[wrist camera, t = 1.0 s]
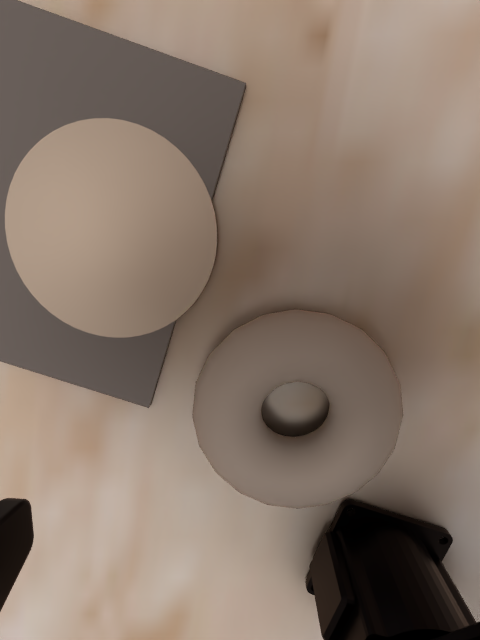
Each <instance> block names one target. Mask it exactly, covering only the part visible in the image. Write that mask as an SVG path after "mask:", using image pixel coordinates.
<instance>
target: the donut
mask: <svg viewBox="0 0 480 640" xmlns="http://www.w3.org/2000/svg"><path fill="white" fill-rule="evenodd" d="M297 381H298V382H305V383H310V384H312V385H314V386H317V387H319V388H320V389H321V390H322V391H323V392H325V394H326V396H327V398H328V400H329V405H330V407H329V412H328V416H327V418H326V420H325V421H324V423H323V424H322V425H321V426H320V427H319V428H318V429H317V430H315V431H313V432H311V433H309V434H307V435H303V436H297V437H289V436H281V435H279V434H277V433H275V432H273V431H272V430H271V429H270V428H269V427H268V426H266V424H265V422H264V421H263V419H262V414H261V409H262V404H263V402H264V400H265V398H266V396H267V395H268V394H270V393H271V392H272V391H273V390H274V389H275V388H277V387H279V386H281V385H283V384H285V383H291V382H297ZM402 418H403V408H402V397H401V387H400V383H399V381H398V379H397V377H396V375H395V373H394V370H393V368H392V366H391V364H390V362H389V360H388V358H387V356H386V354H385V352H384V351H383V350H382V349H381V348H380V347H379V346H378V345H377V344H376V343H375V342H374V341H373V340H372V339H371V338H370V337H369V336H368V335H367V334H366V333H365V332H364V331H363V330H362V329H360V328H358V327H356V326H354V325H352V324H350V323H348V322H346V321H344V320H342V319H340V318H337V317H335V316H333V315H331V314H328V313H320V312H313V311H305V310H298V309H293V310H287V311H282V312H276V313H270V314H265V315H261V316H259V317H257V318H255V319H254V320H252V321H250V322H248V323H246V324H244V325H242V326H240V327H238V328H236V329H234V330H233V331H232V332H231V333H230V334H229V335H228V336H227V337H226V338H225V339H224V340H223V341H222V342H221V343H220V344H219V345H218V346H217V347H216V348H215V349H214V350H213V351H212V352H211V353H210V354H209V356H208V358H207V360H206V363H205V365H204V367H203V369H202V371H201V373H200V375H199V377H198V379H197V381H196V386H195V395H194V404H193V421H194V425H195V429H196V434H197V438H198V442H199V446H200V448H201V449H202V451H203V453H204V454H205V456H206V457H207V459H208V460H209V462H210V464H211V465H212V467H213V468H214V470H215V471H216V473H217V474H218V475H219V476H221V477H222V478H223V479H224V480H225V481H227V482H228V483H229V484H230V485H231V486H232V487H234V488H235V489H236V490H237V491H238V492H240V493H241V494H244V495H246V496H248V497H251V498H253V499H255V500H258V501H260V502H262V503H265V504H267V505H273V506H281V507H289V508H296V509H298V508H306V507H313V506H320V505H327V504H330V503H332V502H334V501H337V500H339V499H341V498H344V497H346V496H348V495H351V494H353V493H355V492H356V491H358V490H359V489H360V488H361V487H362V486H364V485H365V484H366V483H367V482H369V481H370V480H371V479H372V478H373V477H375V476H376V475H377V474H378V473H379V472H380V470H381V469H382V467H383V466H384V464H385V463H386V461H387V459H388V458H389V456H390V455H391V453H392V452H393V450H394V449H395V445H396V441H397V437H398V433H399V430H400V426H401V422H402Z"/></svg>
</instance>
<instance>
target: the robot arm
mask: <svg viewBox="0 0 480 640" xmlns="http://www.w3.org/2000/svg"><path fill="white" fill-rule="evenodd" d="M350 508H353V510H351V511H347V510H348V509H350ZM442 537H443V538H442ZM33 538H34V533H33V522H32V512H31V505H30V502H29V501H28V500H26V499H16V498H6V499H3V500H1V501H0V611H1V609H2V607H3V605H4V603H5V601H6V599H7V597H8V595H9V593H10V591H11V589H12V587H13V585H14V583H15V581H16V579H17V577H18V575H19V573H20V571H21V569H22V567H23V565H24V563H25V560H26V558H27V556H28V554H29V552H30V550H31V547H32V544H33ZM440 538H441V539H440ZM452 541H453V539H452V537H451V535H450V534H449V532H448V531H447V530H446V529H445V528H442V527H439V526H435V525H432V524H429V523H426V522H423V521H419V520H416V519H413V518H410V517H406V516H403V515H400V514H397V513H394V512H390V511H387V510H384V509H381V508H377V507H374V506H371V505H368V504H365V503H361V502H358V501H355V500H350V499H349V500H345V501H344V502H342V504H341V506H340V508H339V510H338V512H337V514H336V516H335V518H334V521H333V523H332V525H331V527H330V529H329V530H328V531H327V532H326V533H325V534H324V536H323V538H322V540H321V542H320V544H319V546H318V549H317V551H316V553H315V555H314V557H313V559H312V561H311V564H310V572H309V574H308V576H307V578H306V588H307V591H308V592H309V593H310V594H312V595H315V600H316V606H317V611H318V617H319V623H320V628H321V634H322V637H323V639H324V640H480V622H477V623H476V621H475V619H474V617H473V616H472V614H471V612H470V610H469V609H468V607H467V605H466V604H465V602H464V600H463V598H462V597H461V595H460V593H459V591H458V590H457V588H456V586H455V585H454V583H453V581H452V579H451V578H450V576H449V574H448V572H447V571H446V569H445V567H444V566H443V564H442V560H443V558H444V556H445V554H446V553H447V551H448V549H449V547H450V546H451V544H452Z"/></svg>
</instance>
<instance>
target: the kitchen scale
mask: <svg viewBox="0 0 480 640" xmlns="http://www.w3.org/2000/svg"><path fill="white" fill-rule="evenodd" d="M245 89H246V83H244V82H242V81H239V80H236V79H233V78H230V77H228V76H225V75H222V74H219V73H217V72H214V71H211V70H208V69H206V68H203V67H200V66H197V65H195V64H192V63H189V62H186V61H184V60H181V59H178V58H175V57H172V56H170V55H167V54H164V53H161V52H159V51H156V50H153V49H150V48H148V47H145V46H142V45H139V44H137V43H134V42H131V41H128V40H125V39H123V38H120V37H117V36H114V35H112V34H109V33H106V32H103V31H101V30H98V29H95V28H92V27H90V26H87V25H84V24H81V23H79V22H76V21H73V20H70V19H67V18H65V17H62V16H59V15H56V14H54V13H51V12H48V11H45V10H43V9H40V8H37V7H34V6H32V5H29V4H26V3H23V2H20V1H18V0H0V361H1V362H4V363H8V364H11V365H14V366H17V367H20V368H23V369H27V370H30V371H33V372H36V373H39V374H43V375H46V376H49V377H52V378H55V379H58V380H62V381H65V382H68V383H71V384H74V385H78V386H81V387H84V388H87V389H90V390H93V391H97V392H100V393H103V394H106V395H109V396H113V397H116V398H119V399H122V400H125V401H128V402H132V403H135V404H138V405H141V406H144V407H148V408H149V407H150V405H151V403H152V399H153V396H154V393H155V389H156V386H157V383H158V379H159V376H160V373H161V369H162V366H163V362H164V359H165V356H166V352H167V349H168V346H169V342H170V339H171V336H172V332H173V329H174V326H175V322H176V319H178V318H179V317H180V316H181V315H183V314H184V313H185V312H186V311H187V310H188V309H189V308H190V307H191V306H192V305H193V304H194V302H195V301H196V300H197V298H198V297H199V296H200V294H201V293H202V291H203V289H204V287H205V285H206V284H207V282H208V279H209V277H210V274H211V271H212V269H213V265H214V260H215V256H216V248H217V225H216V218H215V212H214V208H213V205H212V199H213V196H214V192H215V189H216V186H217V182H218V179H219V176H220V172H221V169H222V165H223V162H224V159H225V155H226V152H227V149H228V145H229V142H230V139H231V135H232V132H233V129H234V125H235V122H236V119H237V115H238V112H239V109H240V105H241V102H242V99H243V95H244V92H245Z"/></svg>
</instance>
